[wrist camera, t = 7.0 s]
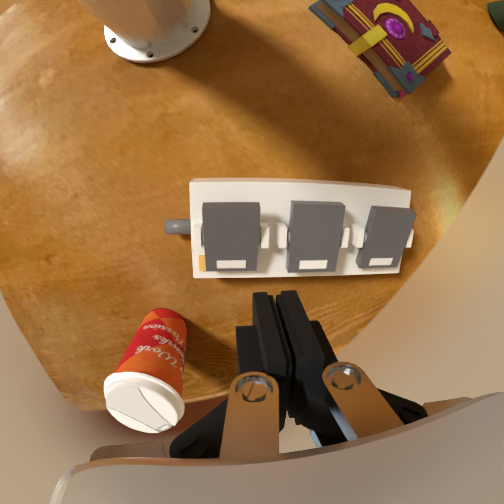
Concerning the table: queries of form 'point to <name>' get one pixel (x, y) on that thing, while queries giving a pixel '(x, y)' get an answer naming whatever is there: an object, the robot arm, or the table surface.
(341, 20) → the decorative book
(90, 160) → the table surface
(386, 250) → the rocker
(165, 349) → the coffee cup
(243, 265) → the rocker
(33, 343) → the table surface
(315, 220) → the rocker mid
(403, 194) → the strip
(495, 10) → the character mug
